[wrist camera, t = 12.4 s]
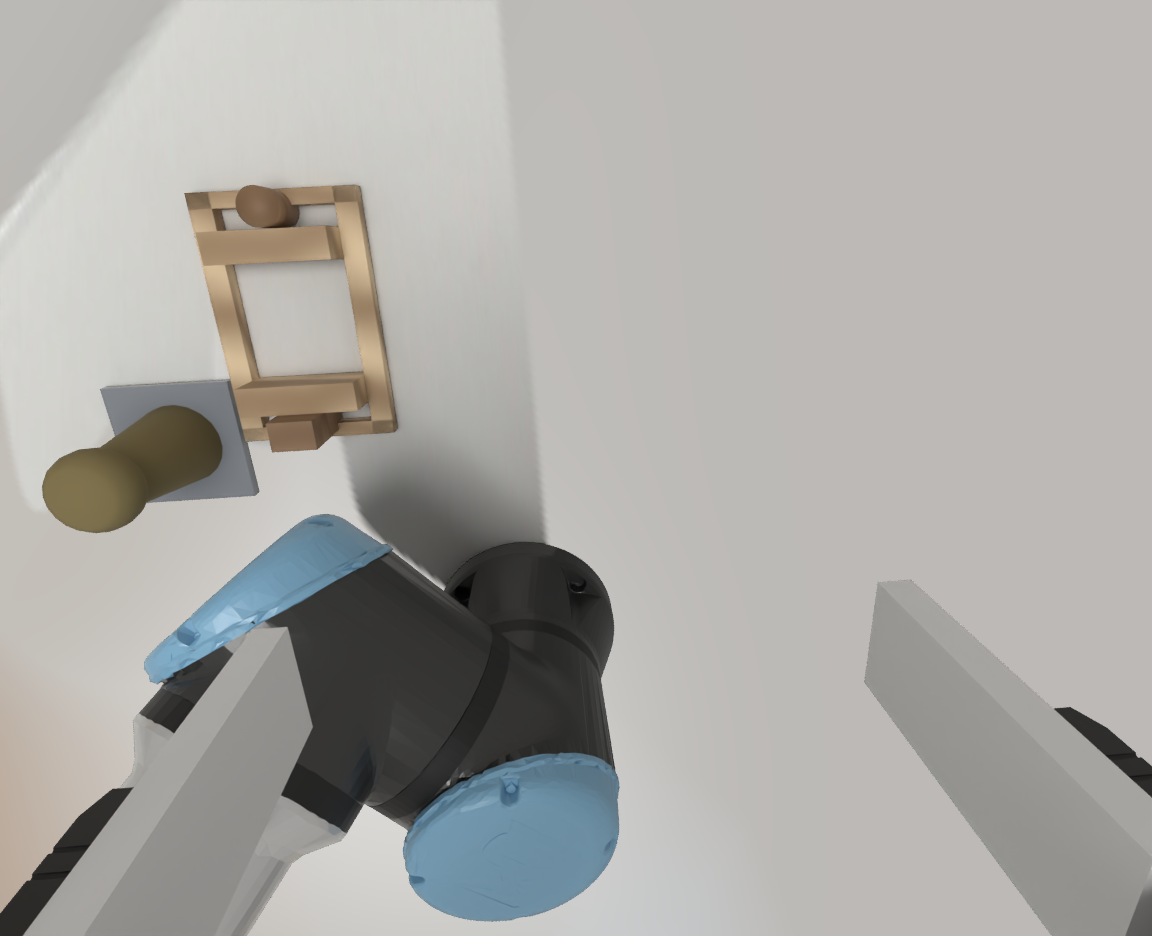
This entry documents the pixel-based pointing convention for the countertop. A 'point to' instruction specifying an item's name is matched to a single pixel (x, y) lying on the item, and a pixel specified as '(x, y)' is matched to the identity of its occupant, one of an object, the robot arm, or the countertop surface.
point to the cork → (132, 469)
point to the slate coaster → (216, 407)
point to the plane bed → (296, 400)
